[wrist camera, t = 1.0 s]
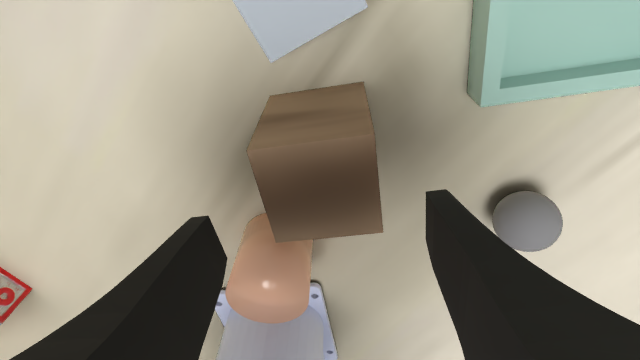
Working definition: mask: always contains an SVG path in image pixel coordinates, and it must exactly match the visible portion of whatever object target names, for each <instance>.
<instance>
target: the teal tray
mask: <svg viewBox="0 0 640 360" xmlns="http://www.w3.org/2000/svg"><path fill="white" fill-rule="evenodd" d="M634 86H640V0H473V14H472V28H471V42H470V57H469V71H468V85H467V93H468V94H469V96H470V97H471V98H472V99H473V100H474V101H475V102H476V103H477V104H478V105H479V106H480V107H487V106H495V105H502V104H509V103H517V102H524V101H531V100H538V99H546V98H553V97H560V96H568V95H575V94H582V93H590V92H597V91H604V90H612V89H619V88H626V87H634Z"/></svg>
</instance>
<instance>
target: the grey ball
mask: <svg viewBox="0 0 640 360" xmlns="http://www.w3.org/2000/svg"><path fill="white" fill-rule="evenodd" d="M492 220H493V227H494V230H495V232H496V234H497V235H498V237H499V238H500V239H501V240H502V241H504V242H505V243H506V244H507V245H509V246H510V247H511V248H514V249H516V250H519V251H525V252H534V251H540V250H543V249H545V248H548V247H549V246H551V245H552V244H553V243H554V242H555V241H556V240H557V239H558V237H559V236H560V234H561V231H562V227H563V220H562V215H561V213H560V211H559V209H558V207H557V206H556V205H555V203H554V202H552V201H551V200H550V199H549V198H547V197H546V196H544V195H542V194H539V193H536V192H531V191H520V192H515V193H512V194H510V195H508V196H506V197H504V198H503V199H502V200H501V201H500V202H499V203H498V204H497V206H496V208H495V210H494V212H493V219H492Z"/></svg>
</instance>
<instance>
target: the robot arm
mask: <svg viewBox="0 0 640 360" xmlns="http://www.w3.org/2000/svg"><path fill="white" fill-rule="evenodd" d="M426 242H427V247H428V251H429V255H430V259H431V263H432V267H433V270H434V273H435V276H436V278H437V281H438V284H439V286H440V289H441V292H442V294H443V297H444V300H445V302H446V305H447V308H448V310H449V313H450V316H451V318H452V321H453V323H454V326H455V329H456V331H457V334H458V337H459V340H460V343H461V346H462V350H463V354H464V357H465V360H640V325H639V324H637V323H635V322H633V321H631V320H629V319H627V318H625V317H623V316H621V315H619V314H617V313H615V312H613V311H611V310H609V309H607V308H605V307H604V306H602V305H600V304H598V303H596V302H594V301H593V300H591V299H589V298H587V297H586V296H584V295H582V294H580V293H579V292H577V291H575V290H574V289H572V288H570V287H568V286H567V285H565V284H563V283H562V282H560V281H559V280H557V279H555V278H554V277H552V276H551V275H549V274H548V273H546V272H545V271H543V270H542V269H540V268H539V267H537V266H536V265H534V264H533V263H531V262H530V261H528V260H527V259H526V258H524V257H523V256H522V255H520V254H519V253H518V252H516V251H515V250H514V249H512V248H511V247H510V246H509V245H507V244H506V243H505V242H504V241H502V240H501V239H500V238H499V237H497V236H496V235H495V234H494V233H493V232H492V231H490V230H489V229H488V228H487V227H486V226H485V225H484V224H482V223H481V222H480V221H479V220H478V219H477V218H476V217H475V216H474V215H472V214H471V213H470V212H469V211H468V210H467V209H466V208H465V207H464V206H463V205H462V204H461V203H460V202H459V201H458V200H457V199H456V198H455V197H454V196H453V195H452V194H451V193H450V192H449V191H447V190H437V191H428V192H426ZM226 263H227V256H226V254H225V252H224V250H223V247H222V245H221V243H220V241H219V238H218V236H217V234H216V232H215V229H214V227H213V225H212V223H211V220H210V218H209V216H201V217H192V218H190V219H189V220H188V221H187V222H186V223H185V224H183V225H182V226H181V227H180V228H179V229H178V230H177V231H176V232H175V233H174V234H173V235H172V236H171V237H169V238H168V239H167V240H166V241H165V242H164V243H163V244H162V245H161V246H160V247H159V248H158V249H157V250H156V251H155V252H154V253H152V254H151V255H150V256H149V257H148V258H147V259H146V260H145V261H144V262H143V263H142V264H141V265H139V266H138V267H137V268H136V269H135V270H134V271H133V272H131V273H130V274H129V275H128V276H127V277H126V278H125V279H123V280H122V281H121V282H120V283H119V284H118V285H117V286H115V287H114V288H113V289H112V290H110V291H109V292H108V293H107V294H105V295H104V296H103V297H102V298H100V299H99V300H98V301H96V302H95V303H94V304H92V305H91V306H90V307H89V308H87V309H86V310H85V311H83V312H82V313H80V314H79V315H78V316H76V317H75V318H73V319H72V320H70V321H69V322H67V323H66V324H64V325H63V326H62V327H60V328H59V329H57V330H56V331H54V332H53V333H51V334H50V335H48V336H47V337H45V338H44V339H42V340H41V341H39V342H38V343H36V344H34V345H33V346H31V347H29V348H28V349H26V350H25V351H23V352H21V353H20V354H18V355H16V356H15V357H13V358H11V359H10V360H198V359H199V356H200V352H201V349H202V346H203V343H204V340H205V337H206V334H207V331H208V328H209V325H210V322H211V319H212V316H213V313H214V310H216V312H217V314H218V316H219V318H220V320H221V322H222V324H223V326H224V327H225V329H224V332H223V336H222V339H221V343H220V346H219V350H218V353H217V357H216V360H337V359H338V354H337V350H336V346H335V342H334V338H333V334H332V330H331V326H330V322H329V318H328V314H327V310H326V305H325V301H324V297H323V293H322V289H321V286H320V285H319V284H318V283H310V293H309V304H308V307H307V309H306V310H305V312H304V313H303V314H302V315H300V316H299V317H297V318H296V319H293V320H291V321H288V322H284V323H274V324H270V323H261V322H256V321H253V320H250V319H247V318H245V317H243V316H241V315H240V314H238V313H237V312H236V311H234V310H233V309H232V308H231V306H230V305H229V304H228V302H227V299H226V295H225V291H226V290H221V288H222V284H223V279H224V274H225V269H226Z"/></svg>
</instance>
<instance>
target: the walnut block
mask: <svg viewBox="0 0 640 360" xmlns="http://www.w3.org/2000/svg"><path fill="white" fill-rule="evenodd" d="M246 151H247V154H248V157H249V160H250V164H251V167H252V170H253V173H254V176H255V179H256V182H257V185H258V188H259V192H260V195H261V198H262V201H263V204H264V207H265V210H266V213H267V217H268V220H269V223H270V226H271V229H272V232H273V235H274V238H275V242H276V243H282V242H292V241H302V240H312V239H322V238H332V237H342V236H352V235H363V234H373V233H383V225H382V213H381V201H380V190H379V178H378V167H377V155H376V144H375V133H374V129H373V124H372V119H371V115H370V110H369V106H368V101H367V97H366V92H365V88H364V83H363V82H358V83H351V84H345V85H338V86H331V87H325V88H318V89H312V90H305V91H298V92H292V93H285V94H278V95H272V96H270V97H269V99H268V102H267V104H266V106H265V109H264V111H263V113H262V115H261V118H260V120H259V122H258V125H257V127H256V129H255V132H254V134H253V136H252V139H251V141H250V143H249V146H248V148H247V150H246Z"/></svg>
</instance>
